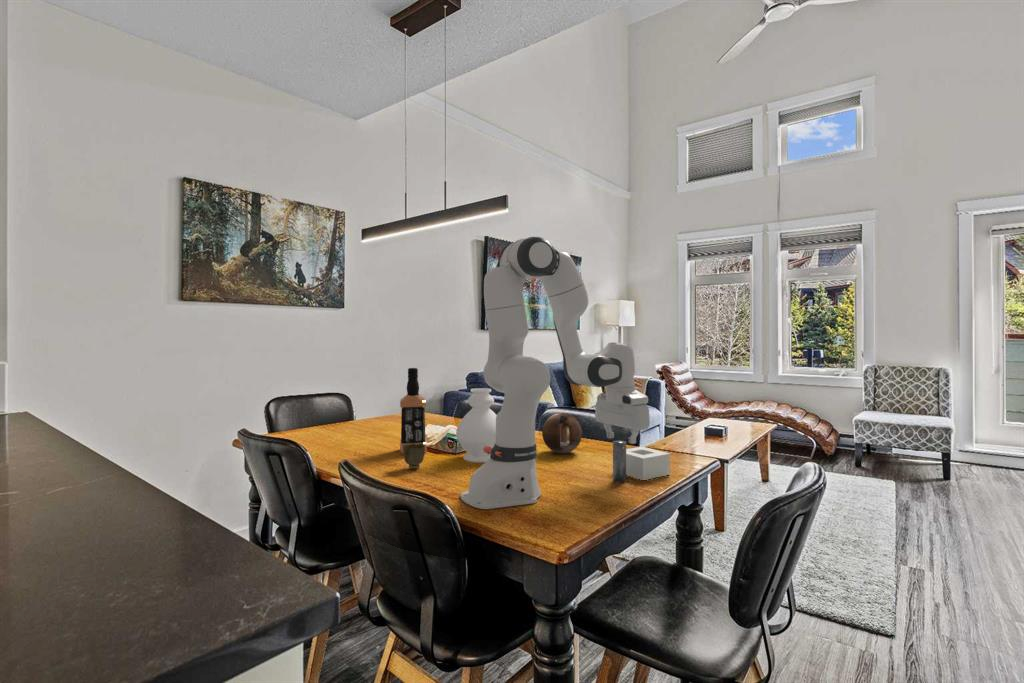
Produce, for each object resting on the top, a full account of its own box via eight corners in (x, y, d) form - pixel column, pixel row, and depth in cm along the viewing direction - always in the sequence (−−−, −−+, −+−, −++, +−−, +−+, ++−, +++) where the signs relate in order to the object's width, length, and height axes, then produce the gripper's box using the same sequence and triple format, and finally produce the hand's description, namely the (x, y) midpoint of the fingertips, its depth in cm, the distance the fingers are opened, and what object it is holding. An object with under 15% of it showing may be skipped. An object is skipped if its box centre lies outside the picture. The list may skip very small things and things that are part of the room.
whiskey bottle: (426, 454, 194) (426, 368, 193) (399, 455, 191) (399, 369, 191) (425, 448, 204) (425, 367, 203) (399, 449, 202) (399, 367, 201)
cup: (427, 470, 170) (427, 446, 170) (404, 472, 168) (404, 448, 167) (422, 465, 177) (422, 441, 177) (401, 467, 175) (400, 443, 174)
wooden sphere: (547, 447, 205) (547, 409, 205) (585, 450, 200) (585, 411, 200) (537, 455, 191) (537, 415, 190) (577, 458, 186) (577, 417, 186)
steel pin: (619, 483, 155) (619, 444, 155) (610, 480, 159) (610, 441, 159) (628, 481, 158) (629, 442, 157) (619, 478, 161) (619, 440, 161)
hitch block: (643, 481, 158) (643, 458, 158) (615, 472, 168) (615, 450, 168) (669, 475, 164) (670, 453, 164) (641, 467, 175) (641, 446, 174)
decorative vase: (475, 467, 175) (475, 393, 174) (446, 457, 188) (446, 389, 188) (515, 459, 186) (515, 389, 185) (486, 450, 200) (485, 385, 199)
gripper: (590, 393, 165) (590, 436, 165) (637, 400, 148) (637, 448, 148) (604, 391, 168) (605, 433, 169) (652, 398, 151) (653, 445, 151)
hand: (621, 440), depth 158 cm, fingers open, 8 cm apart
